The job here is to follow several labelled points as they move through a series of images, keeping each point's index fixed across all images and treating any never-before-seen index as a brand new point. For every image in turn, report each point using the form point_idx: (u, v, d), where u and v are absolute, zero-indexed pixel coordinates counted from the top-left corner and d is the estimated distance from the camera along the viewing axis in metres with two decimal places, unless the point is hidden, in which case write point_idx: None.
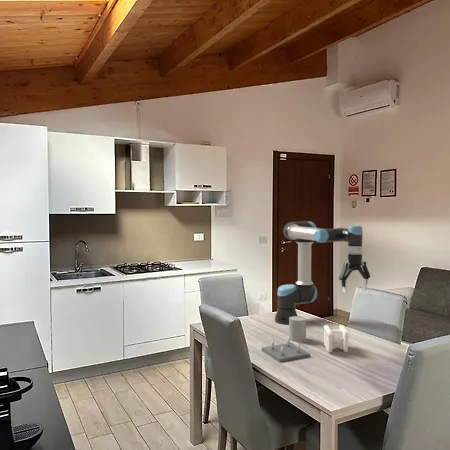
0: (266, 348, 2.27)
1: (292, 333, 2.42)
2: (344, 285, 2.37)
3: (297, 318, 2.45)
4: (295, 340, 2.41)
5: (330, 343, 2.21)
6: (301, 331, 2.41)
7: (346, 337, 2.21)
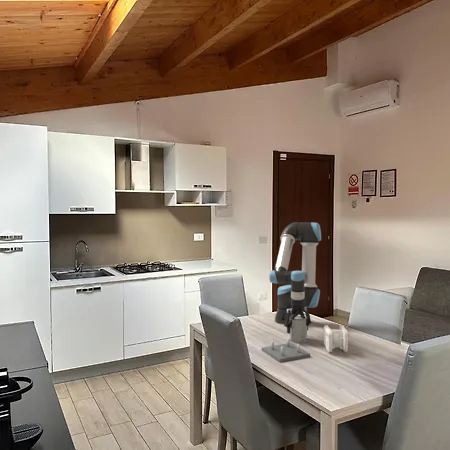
0: (266, 348, 2.27)
1: (292, 333, 2.42)
2: (289, 332, 2.42)
3: (297, 318, 2.45)
4: (295, 340, 2.41)
5: (330, 343, 2.21)
6: (301, 331, 2.40)
7: (346, 337, 2.21)
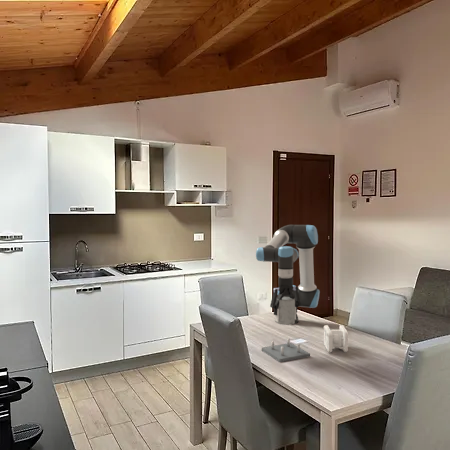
0: (266, 348, 2.27)
1: (279, 315, 2.19)
2: (276, 313, 2.19)
3: (285, 298, 2.23)
4: (283, 322, 2.18)
5: (330, 343, 2.21)
6: (289, 312, 2.18)
7: (346, 337, 2.22)
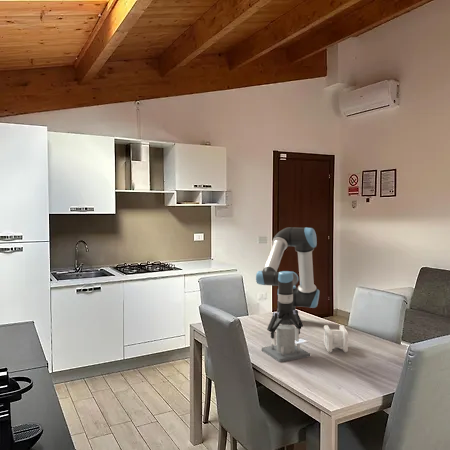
0: (266, 348, 2.27)
1: (279, 344, 2.20)
2: (273, 337, 2.19)
3: (285, 327, 2.23)
4: None
5: (330, 343, 2.21)
6: (289, 341, 2.19)
7: (346, 337, 2.21)
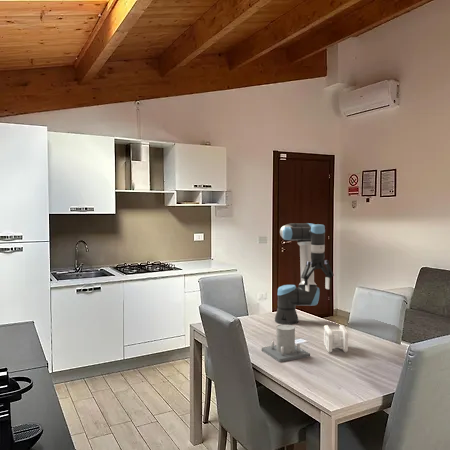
0: (266, 348, 2.27)
1: (279, 344, 2.20)
2: (306, 284, 2.38)
3: (285, 327, 2.23)
4: None
5: (330, 343, 2.21)
6: (289, 341, 2.19)
7: (346, 337, 2.21)
